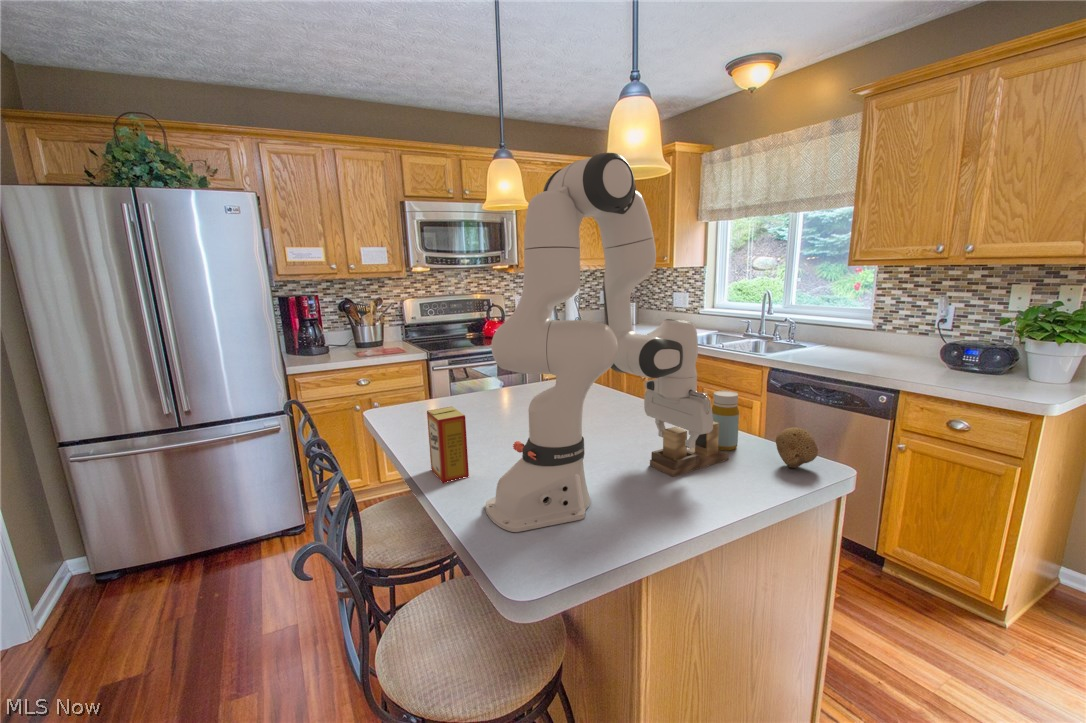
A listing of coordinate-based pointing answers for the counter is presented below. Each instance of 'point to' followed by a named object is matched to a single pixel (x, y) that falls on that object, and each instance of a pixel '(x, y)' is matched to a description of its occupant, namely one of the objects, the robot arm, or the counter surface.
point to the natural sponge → (796, 447)
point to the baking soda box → (448, 443)
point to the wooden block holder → (692, 455)
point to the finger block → (674, 443)
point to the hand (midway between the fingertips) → (676, 442)
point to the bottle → (726, 418)
